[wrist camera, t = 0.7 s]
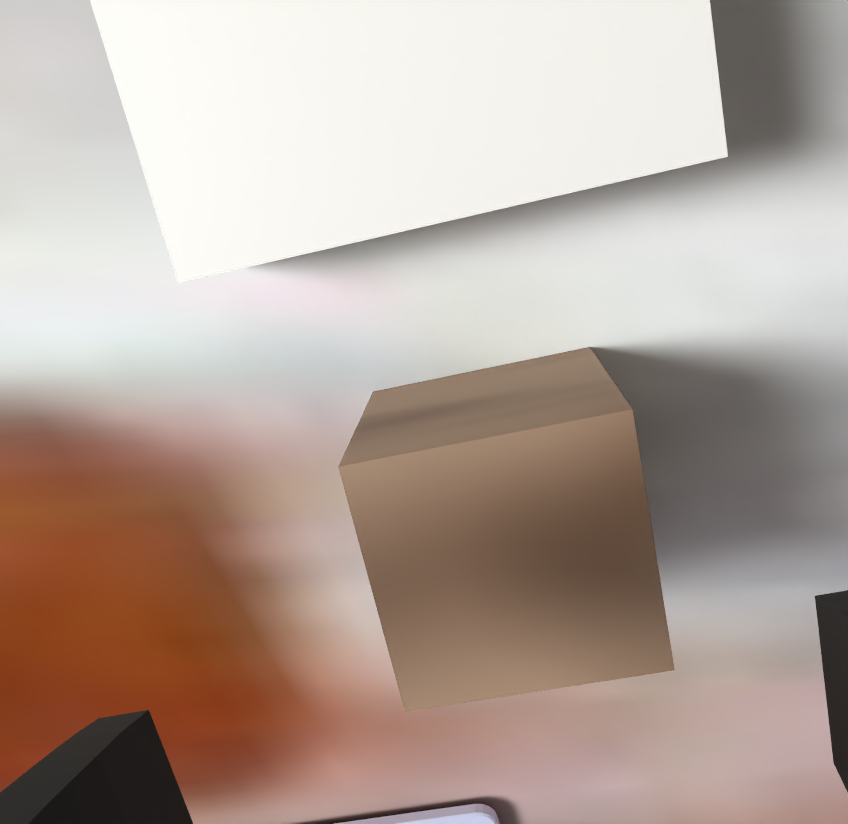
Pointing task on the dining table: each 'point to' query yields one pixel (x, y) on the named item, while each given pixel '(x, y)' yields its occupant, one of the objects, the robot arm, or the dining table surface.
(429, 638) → the walnut cube
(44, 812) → the robot arm
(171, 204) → the base block
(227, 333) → the dining table surface
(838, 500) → the dining table surface
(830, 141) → the dining table surface
